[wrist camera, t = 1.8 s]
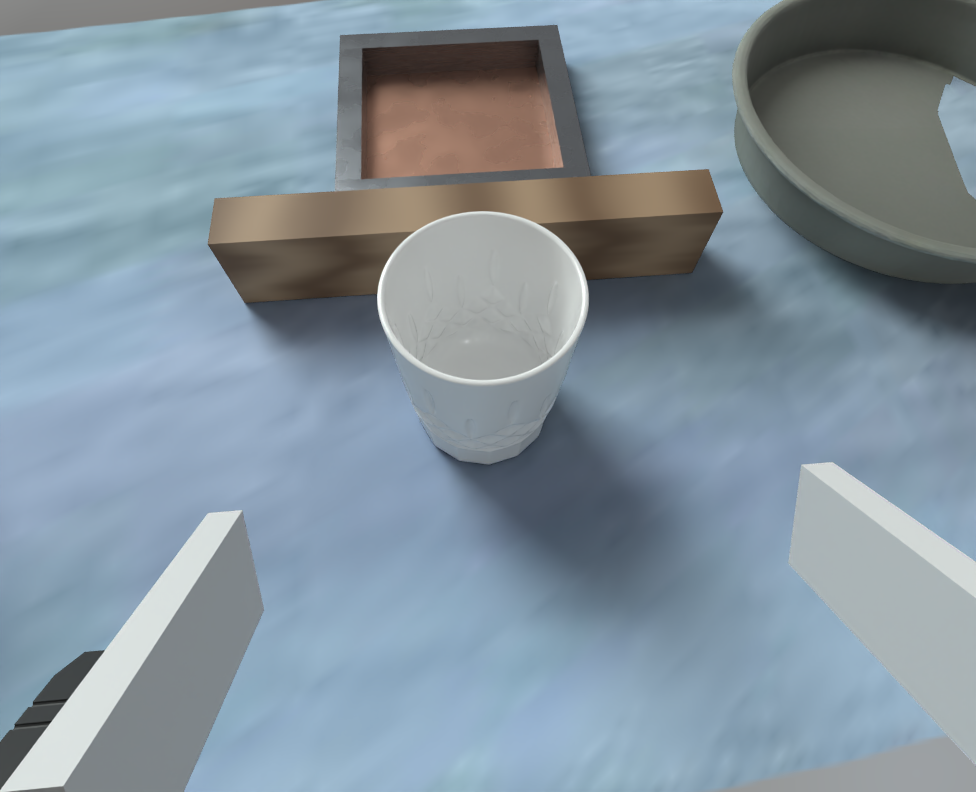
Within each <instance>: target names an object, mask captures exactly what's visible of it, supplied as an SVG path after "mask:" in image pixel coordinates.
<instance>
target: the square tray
mask: <svg viewBox="0 0 976 792" xmlns="http://www.w3.org/2000/svg"><path fill="white" fill-rule="evenodd" d="M587 176H591V174H590V170H589V165H588V161H587V157H586V152H585V148H584V143H583V139H582V134H581V130H580V125H579V121H578V116H577V112H576V107H575V103H574V98H573V94H572V89H571V85H570V80H569V76H568V71H567V67H566V62H565V58H564V53H563V49H562V44H561V40H560V35H559V31H558V26H557V25H548V26H526V27H505V28H484V29H463V30H442V31H420V32H399V33H378V34H357V35H340V55H339V85H338V115H337V145H336V174H335V191H350V190H367V189H384V188H401V187H418V186H435V185H452V184H469V183H486V182H502V181H519V180H536V179H553V178H570V177H587Z"/></svg>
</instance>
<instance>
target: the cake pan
mask: <svg viewBox="0 0 976 792" xmlns="http://www.w3.org/2000/svg"><path fill="white" fill-rule="evenodd" d="M953 76H955V77H957V78H959V79H961V80H963V81H965V82H967V83H970V84H972V85H974V86H976V0H783V1H781V2H780V3H778V4H776V5H775V6H773V7H772V8H770V9H769V10H767V11H766V12H765V13H764V14H762V15H761V16H760V17H759V18H758V19H757V20H756V21H755V22H754V23H753V24H752V25H751V27H750V28H749V29H748V30H747V32H746V33H745V35H744V36H743V38H742V40H741V42H740V44H739V46H738V49H737V52H736V55H735V59H734V63H733V70H732V78H733V90H734V96H735V100H736V104H737V107H738V110H737V115H736V119H735V127H734V137H735V146H736V150H737V154H738V158H739V161H740V163H741V166H742V168H743V170H744V172H745V174H746V176H747V178H748V180H749V182H750V183H751V185H752V186H753V188H754V189H755V191H756V192H757V193H758V195H759V196H760V197H761V199H762V200H763V201H764V202H765V203H766V204H767V206H768V207H769V208H770V209H771V210H772V211H773V212H774V213H775V214H776V215H777V216H778V217H779V218H780V219H781V220H782V221H784V222H785V223H786V224H787V225H788V226H789V227H791V228H792V229H793V230H795V231H796V232H797V233H799V234H800V235H802V236H803V237H804V238H806V239H807V240H809V241H810V242H812V243H814V244H815V245H817V246H819V247H820V248H822V249H824V250H826V251H827V252H829V253H831V254H833V255H835V256H837V257H839V258H841V259H844V260H846V261H848V262H851V263H853V264H856V265H858V266H861V267H863V268H866V269H869V270H872V271H875V272H879V273H882V274H885V275H889V276H893V277H898V278H902V279H907V280H913V281H920V282H929V283H943V284H960V283H975V282H976V200H975V199H974V198H973V197H972V196H971V195H970V194H969V193H968V192H967V189H966V187H965V185H964V182H963V180H962V177H961V175H960V172H959V169H958V167H957V164H956V161H955V159H954V156H953V153H952V151H951V148H950V145H949V143H948V140H947V137H946V135H945V132H944V129H943V127H942V124H941V121H940V119H939V116H938V112H939V111H937V110H938V106H939V103H940V100H941V96H942V93H943V90H944V86H945V84H949V85H950V84H951V81H952V79H953Z"/></svg>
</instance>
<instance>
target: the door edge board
mask: <svg viewBox="0 0 976 792" xmlns="http://www.w3.org/2000/svg"><path fill="white" fill-rule="evenodd" d="M477 211H489V212H500V213H506V214H511V215H515V216H519V217H522V218H525V219H527V220H530V221H532V222H535V223H537V224H539V225H541V226H542V227H544V228H546V229H547V230H549V231H550V232H552V233H553V234H555V235H556V236H557V237H558V238H560V239H561V240H562V241H563V242H564V243H565V244H566V245H567V246H568V247H569V249H570V250H571V251H572V252H573V254H574V255H575V256H576V258H577V260H578V261H579V263H580V265H581V267H582V269H583V271H584V274H585V277H586V280H592V279H607V278H622V277H637V276H651V275H666V274H681V273H692V272H693V270H694V268H695V266H696V264H697V262H698V260H699V258H700V256H701V254H702V252H703V250H704V248H705V246H706V245H707V243H708V241H709V239H710V237H711V235H712V233H713V231H714V229H715V227H716V225H717V223H718V221H719V219H720V217H721V215H722V213H723V210H722V207H721V204H720V201H719V198H718V195H717V192H716V189H715V187H714V184H713V181H712V178H711V175H710V172H709V169H705V170H688V171H671V172H654V173H638V174H621V175H604V176H587V177H570V178H553V179H536V180H519V181H502V182H486V183H469V184H452V185H435V186H418V187H401V188H384V189H367V190H350V191H333V192H317V193H300V194H283V195H266V196H249V197H232V198H215V200H214V206H213V213H212V219H211V226H210V233H209V239H208V245H209V247H210V249H211V250H212V252H213V253H214V255H215V257H216V258H217V260H218V261H219V263H220V264H221V266H222V268H223V269H224V271H225V272H226V274H227V276H228V277H229V279H230V280H231V282H232V284H233V285H234V287H235V288H236V290H237V292H238V293H239V295H240V296H241V298H242V299H243V301H244V303H250V302H265V301H280V300H295V299H310V298H325V297H339V296H354V295H369V294H377V292H378V285H379V280H380V277H381V274H382V271H383V269H384V267H385V265H386V263H387V261H388V259H389V258H390V256H391V255H392V253H393V252H394V251H395V250H396V248H397V247H398V246H399V245H400V244H401V243H402V242H403V241H404V240H405V239H406V238H407V237H409V236H410V235H411V234H413V233H414V232H415V231H417V230H418V229H420V228H422V227H423V226H425V225H427V224H429V223H431V222H433V221H436V220H438V219H441V218H444V217H447V216H451V215H455V214H460V213H466V212H477Z"/></svg>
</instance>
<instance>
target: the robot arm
mask: <svg viewBox="0 0 976 792" xmlns="http://www.w3.org/2000/svg"><path fill="white" fill-rule="evenodd" d="M788 563H789V564H790V566H791V567H792V568H793V569H794V570H795V571H796V572H797V573H798V574H799V575H800V576H801V577H802V579H803V580H804V581H805V582H806V583H807V584H808V585H809V586H810V587H811V588H812V589H813V590H814V592H815V593H816V594H817V595H818V596H819V597H820V598H821V599H822V600H823V601H824V602H825V603H826V604H827V606H828V607H829V608H830V609H831V610H832V611H833V612H834V613H835V614H836V615H837V616H838V617H839V619H840V620H841V621H842V622H843V623H844V624H845V625H846V626H847V627H848V628H849V629H850V630H851V632H852V633H853V634H854V635H855V636H856V637H857V638H858V639H859V640H860V641H861V642H862V643H863V645H864V646H865V647H866V648H867V649H868V650H869V651H870V652H871V653H872V654H873V655H874V656H875V657H876V659H877V660H878V661H879V662H880V663H881V664H882V665H883V666H884V667H885V668H886V669H887V670H888V672H889V673H890V674H891V675H892V676H893V677H894V678H895V679H896V680H897V681H898V682H899V683H900V685H901V686H902V687H903V688H904V689H905V690H906V691H907V692H908V693H909V694H910V695H911V696H912V697H913V699H914V700H915V701H916V702H917V703H918V704H919V705H920V706H921V707H922V708H923V709H924V710H925V712H926V713H927V714H928V715H929V716H930V717H931V718H932V719H933V720H934V721H935V722H936V723H937V725H938V726H939V727H940V728H941V729H942V730H943V731H944V732H945V733H946V734H947V735H948V736H949V738H950V739H952V741H953V742H954V743H955V744H956V745H957V746H958V747H959V748H960V749H961V750H962V752H964V754H965V755H966V756H967V757H968V758H969V759H970V760H971V761H972V762H973V763H974V765H975V766H976V562H975V561H974V560H972V559H971V558H969V557H968V556H966V555H965V554H964V553H962V552H961V551H959V550H958V549H956V548H955V547H954V546H952V545H951V544H949V543H948V542H946V541H945V540H943V539H942V538H941V537H939V536H938V535H936V534H935V533H933V532H932V531H931V530H929V529H928V528H926V527H925V526H923V525H922V524H920V523H919V522H918V521H916V520H915V519H913V518H912V517H910V516H909V515H908V514H906V513H905V512H903V511H902V510H900V509H899V508H897V507H896V506H895V505H893V504H892V503H890V502H889V501H887V500H886V499H884V498H883V497H882V496H880V495H879V494H877V493H876V492H874V491H873V490H872V489H870V488H869V487H867V486H866V485H864V484H863V483H861V482H860V481H859V480H857V479H856V478H854V477H853V476H851V475H850V474H849V473H847V472H846V471H844V470H843V469H841V468H840V467H838V466H837V465H836V464H834V463H833V462H830V463H818V464H805V465H801V470H800V478H799V486H798V493H797V501H796V509H795V516H794V524H793V532H792V539H791V547H790V555H789V562H788ZM263 611H264V607H263V603H262V598H261V593H260V589H259V584H258V580H257V575H256V571H255V566H254V562H253V557H252V552H251V548H250V543H249V539H248V534H247V530H246V525H245V520H244V516H243V511H242V510H240V511H227V512H215V513H208V514H207V515H206V517H205V518H204V519H203V521H202V522H201V523H200V525H199V526H198V527H197V529H196V530H195V531H194V533H193V534H192V535H191V537H190V538H189V539H188V541H187V542H186V543H185V545H184V546H183V547H182V549H181V550H180V551H179V553H178V554H177V555H176V557H175V558H174V559H173V561H172V562H171V563H170V565H169V566H168V567H167V569H166V570H165V571H164V573H163V574H162V575H161V577H160V578H159V579H158V581H157V582H156V583H155V585H154V586H153V587H152V589H151V590H150V591H149V593H148V594H147V595H146V597H145V598H144V599H143V601H142V602H141V603H140V605H139V606H138V607H137V609H136V610H135V611H134V613H133V614H132V615H131V617H130V618H129V619H128V621H127V622H126V623H125V625H124V626H123V627H122V629H121V630H120V631H119V633H118V634H117V635H116V637H115V638H114V639H113V641H112V642H111V643H110V645H109V646H108V647H107V649H106V650H102V651H91V652H84V653H83V654H82V655H80V656H79V657H78V658H76V659H75V660H74V661H73V662H71V663H70V664H69V665H67V666H66V667H65V668H64V669H62V670H61V671H60V672H58V673H57V674H56V675H55V676H54V677H53V678H52V679H51V680H50V682H49V683H48V684H47V685H46V686H45V688H44V689H43V690H42V691H41V693H40V694H39V695H38V696H37V697H36V699H35V700H34V701H33V706H32V707H28V708H27V710H26V711H25V712H24V713H23V715H22V716H21V717H20V718H19V720H18V721H17V722H16V723H15V727H14V729H13V730H10V731H9V732H8V733H7V734H6V735H5V737H4V738H3V739H2V740H1V742H0V792H184V790H185V788H186V785H187V783H188V781H189V779H190V776H191V774H192V772H193V770H194V767H195V765H196V763H197V760H198V758H199V756H200V754H201V751H202V749H203V747H204V745H205V742H206V740H207V738H208V736H209V733H210V731H211V729H212V727H213V724H214V722H215V720H216V717H217V715H218V713H219V711H220V708H221V706H222V704H223V702H224V699H225V697H226V695H227V693H228V690H229V688H230V686H231V683H232V681H233V679H234V677H235V674H236V672H237V670H238V668H239V665H240V663H241V661H242V659H243V656H244V654H245V652H246V650H247V647H248V645H249V643H250V640H251V638H252V636H253V634H254V631H255V629H256V627H257V625H258V622H259V620H260V618H261V616H262V613H263Z"/></svg>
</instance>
